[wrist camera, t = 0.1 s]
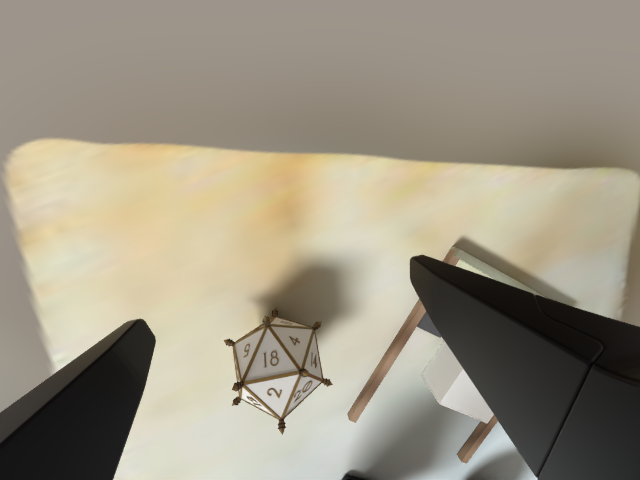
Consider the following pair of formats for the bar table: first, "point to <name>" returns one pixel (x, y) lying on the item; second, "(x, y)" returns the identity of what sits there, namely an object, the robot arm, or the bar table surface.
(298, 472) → the bar table surface
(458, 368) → the block
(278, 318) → the game die
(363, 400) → the wood-trimmed serving tray
